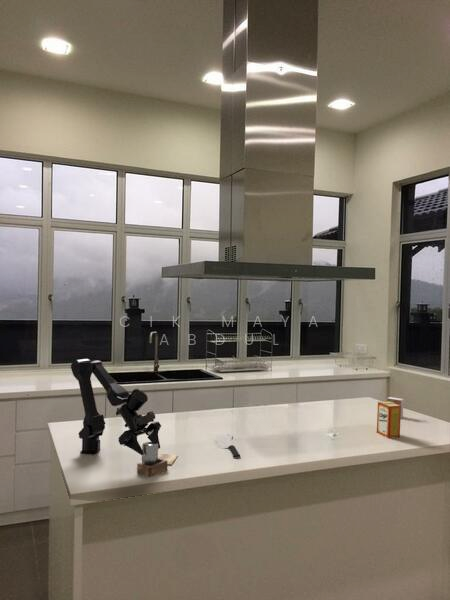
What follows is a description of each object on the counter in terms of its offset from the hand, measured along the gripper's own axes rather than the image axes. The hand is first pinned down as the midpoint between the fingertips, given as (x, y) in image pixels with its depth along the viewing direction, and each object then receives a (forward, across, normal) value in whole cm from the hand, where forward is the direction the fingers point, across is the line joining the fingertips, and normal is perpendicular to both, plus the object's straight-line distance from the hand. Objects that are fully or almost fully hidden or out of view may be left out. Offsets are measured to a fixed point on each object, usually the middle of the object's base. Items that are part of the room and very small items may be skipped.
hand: (151, 451), depth 188 cm
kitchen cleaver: (+10, +42, +2) cm, 44 cm away
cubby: (+6, 0, +5) cm, 7 cm away
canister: (+5, 0, +6) cm, 7 cm away
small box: (+42, +148, -30) cm, 156 cm away
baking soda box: (+47, +109, -36) cm, 124 cm away
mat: (+2, +11, +9) cm, 14 cm away
